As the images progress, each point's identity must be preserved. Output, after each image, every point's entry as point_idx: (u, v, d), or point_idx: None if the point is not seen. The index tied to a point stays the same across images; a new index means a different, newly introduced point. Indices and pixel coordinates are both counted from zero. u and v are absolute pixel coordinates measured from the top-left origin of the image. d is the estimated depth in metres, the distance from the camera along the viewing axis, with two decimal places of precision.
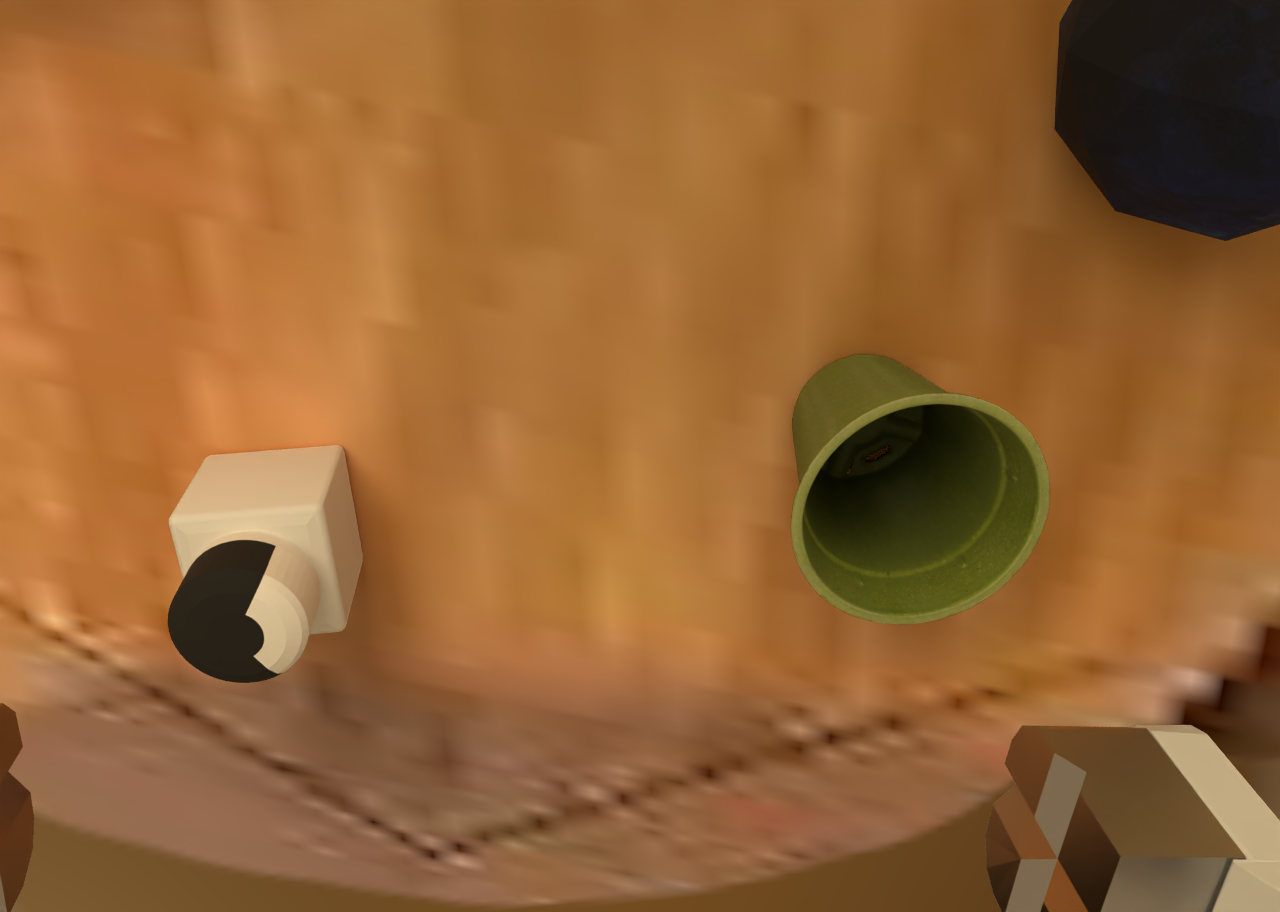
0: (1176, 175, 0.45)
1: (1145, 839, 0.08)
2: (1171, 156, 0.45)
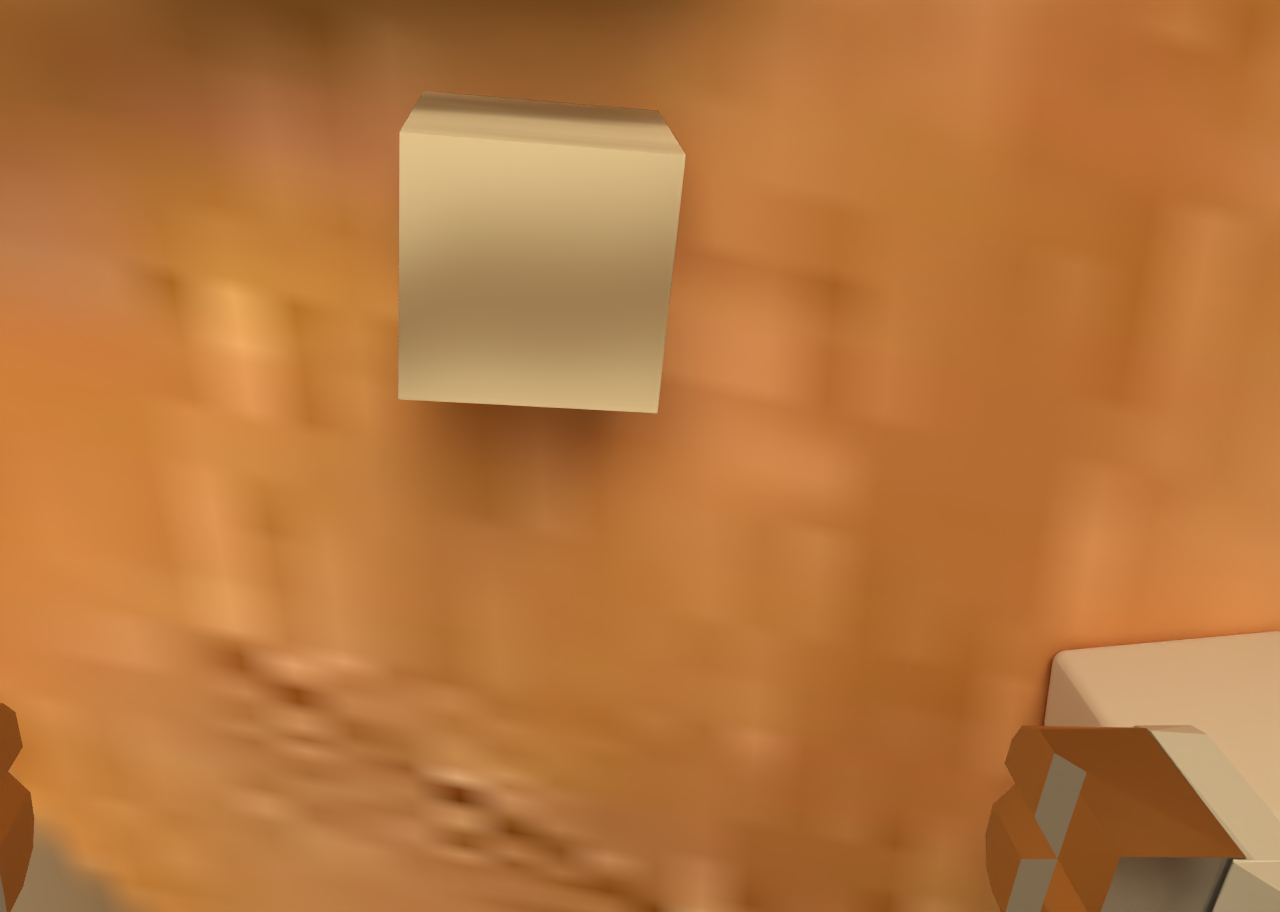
0: None
1: (1145, 839, 0.08)
2: None
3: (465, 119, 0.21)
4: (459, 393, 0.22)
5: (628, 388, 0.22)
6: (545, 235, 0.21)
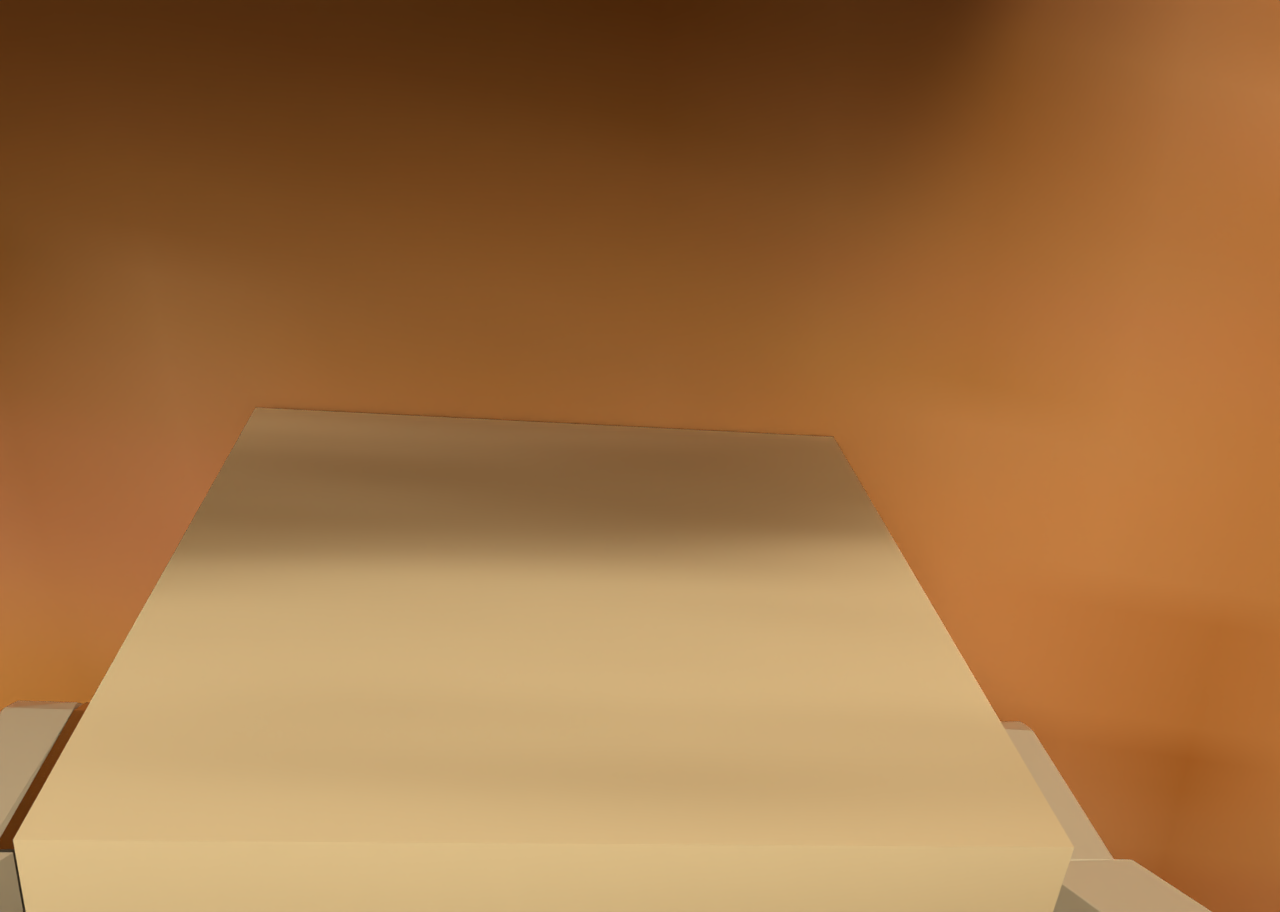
0: None
1: None
2: None
3: (317, 623, 0.07)
4: None
5: None
6: None
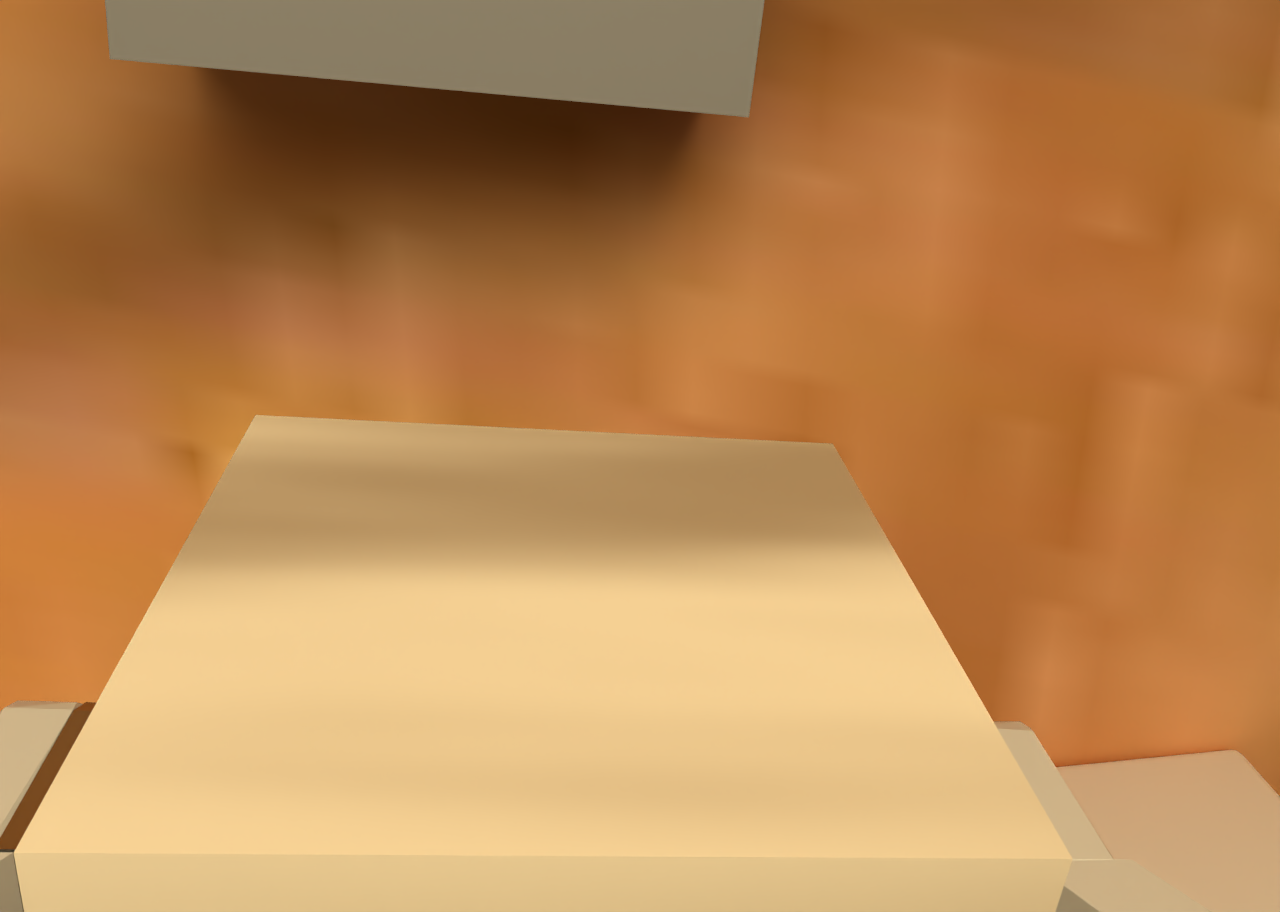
0: None
1: None
2: None
3: (317, 633, 0.07)
4: None
5: None
6: None
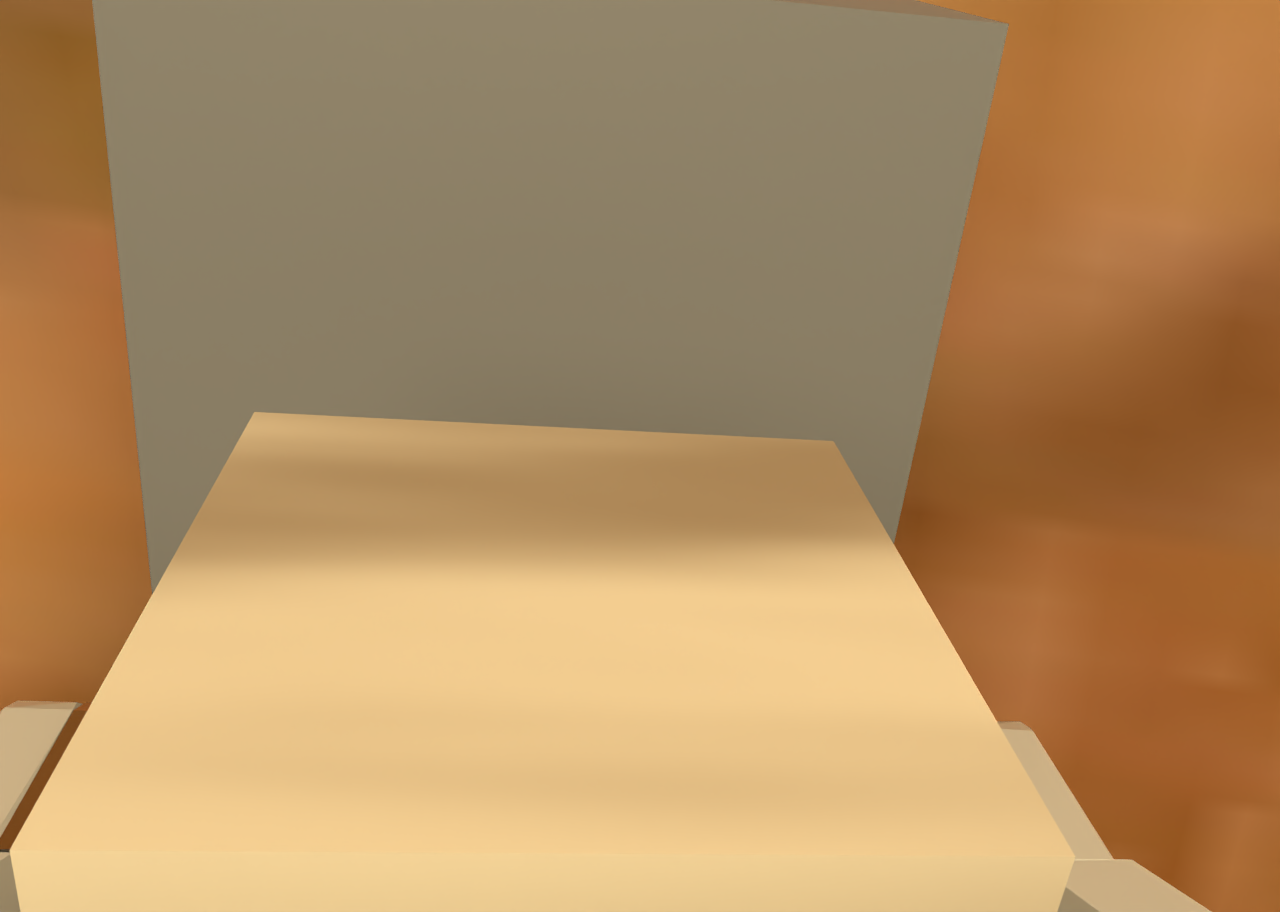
0: None
1: None
2: None
3: (315, 630, 0.07)
4: None
5: None
6: None
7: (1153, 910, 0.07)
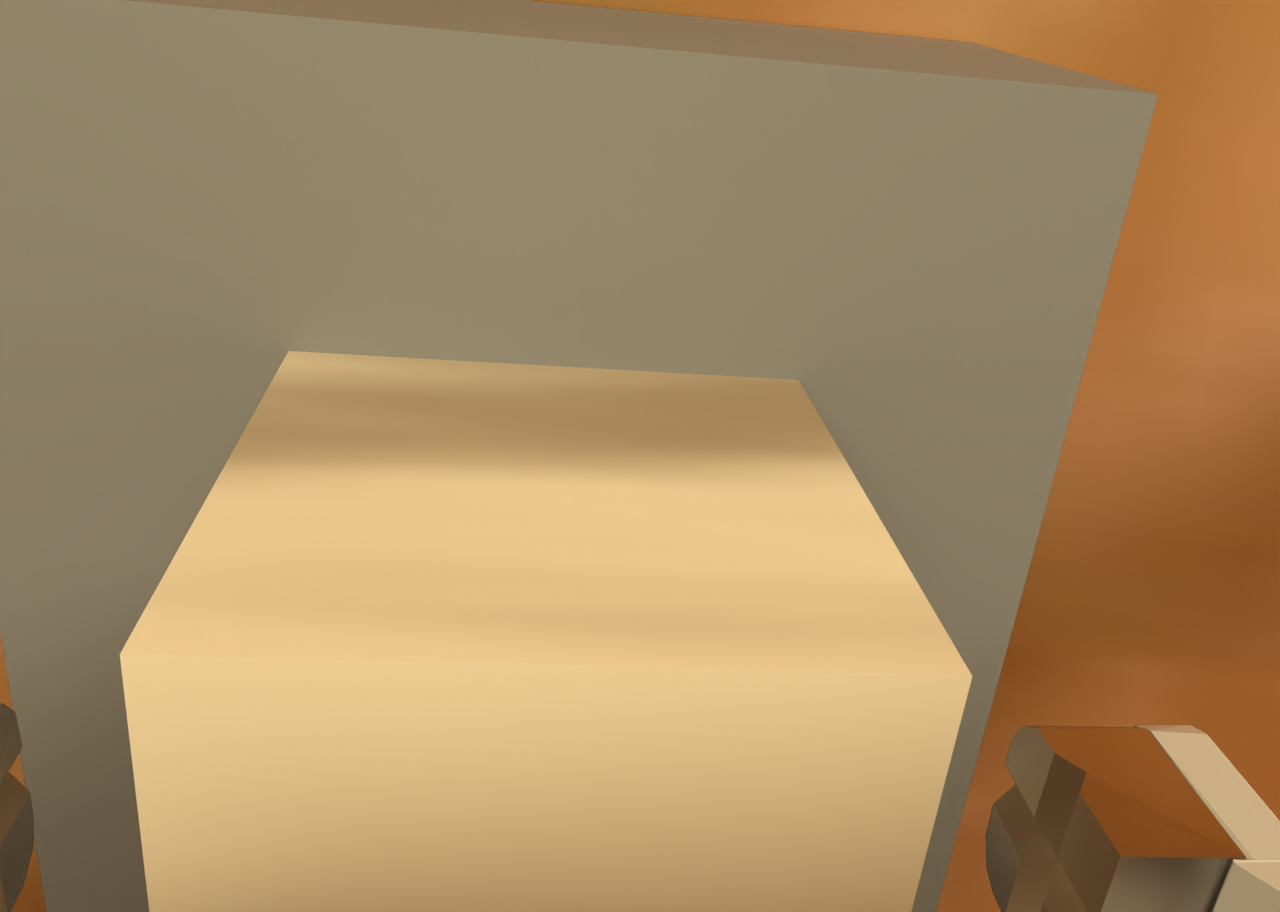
0: None
1: (1145, 839, 0.08)
2: None
3: (352, 512, 0.08)
4: None
5: None
6: (565, 872, 0.07)
7: None
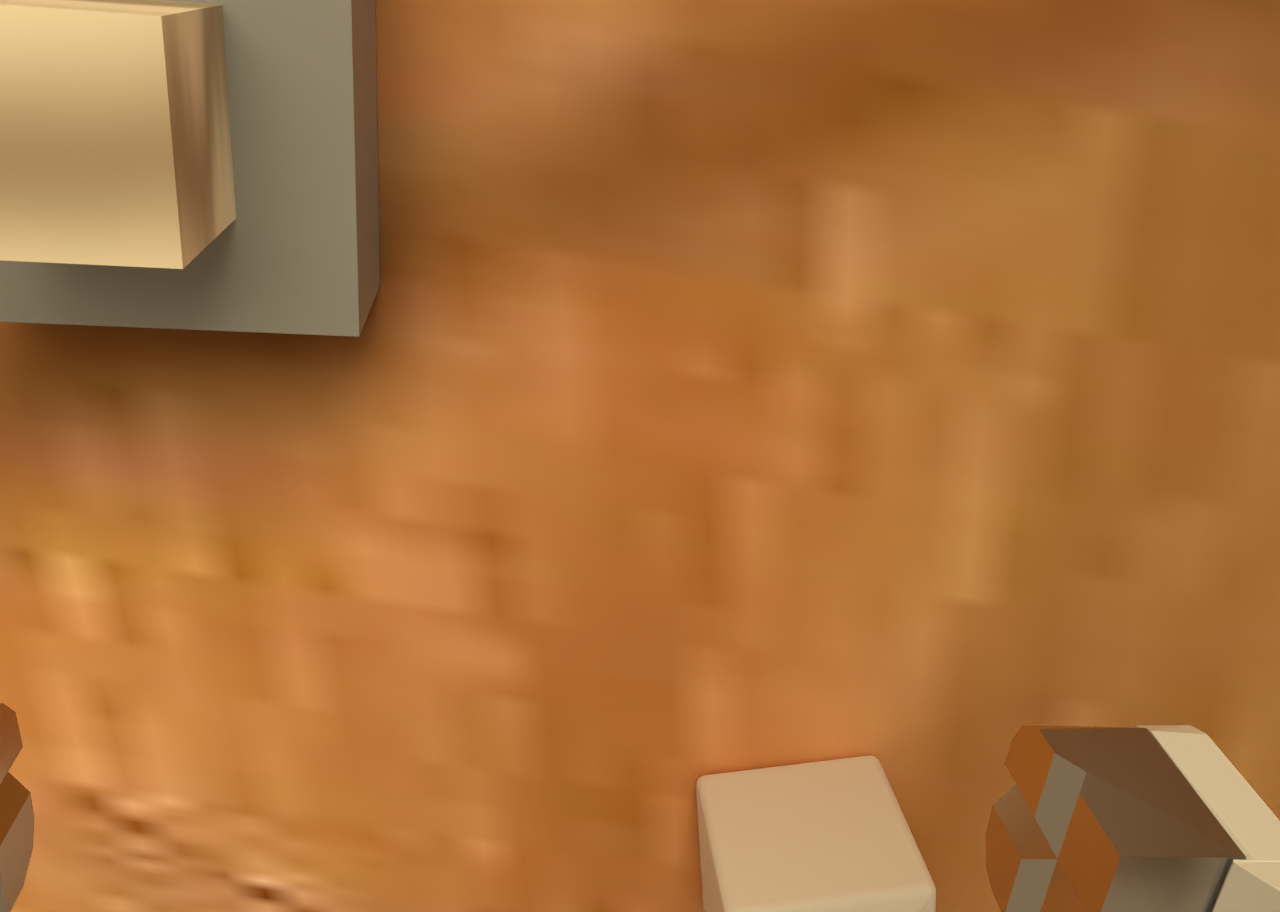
0: None
1: (1145, 839, 0.08)
2: None
3: None
4: None
5: (150, 244, 0.24)
6: (42, 94, 0.22)
7: None
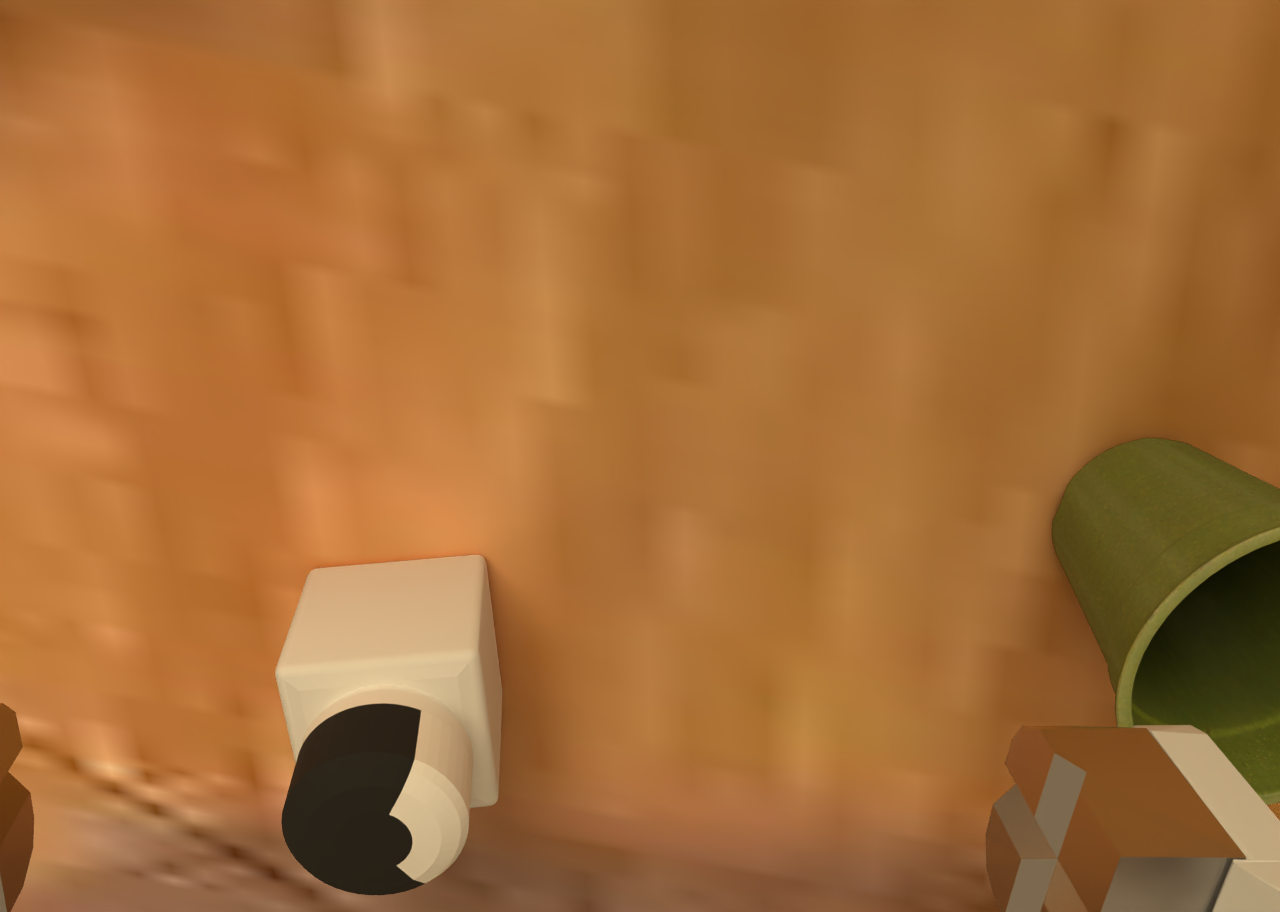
0: None
1: (1145, 839, 0.08)
2: None
3: None
4: None
5: None
6: None
7: None
